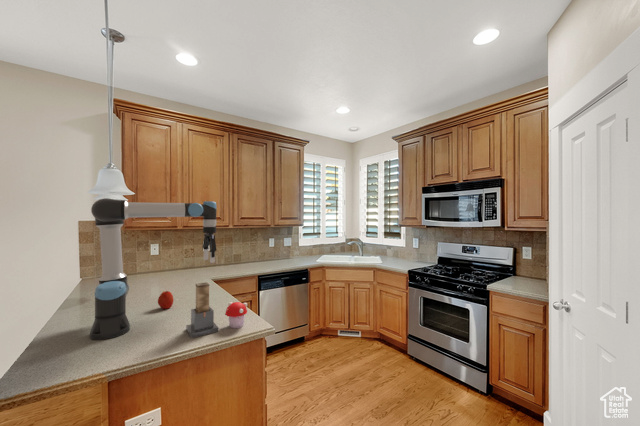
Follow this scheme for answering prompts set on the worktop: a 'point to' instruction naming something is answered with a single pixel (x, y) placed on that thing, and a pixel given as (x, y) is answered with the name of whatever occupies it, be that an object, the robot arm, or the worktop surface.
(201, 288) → the post
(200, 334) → the sleeve
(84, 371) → the worktop surface
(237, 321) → the mushroom
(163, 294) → the apple
